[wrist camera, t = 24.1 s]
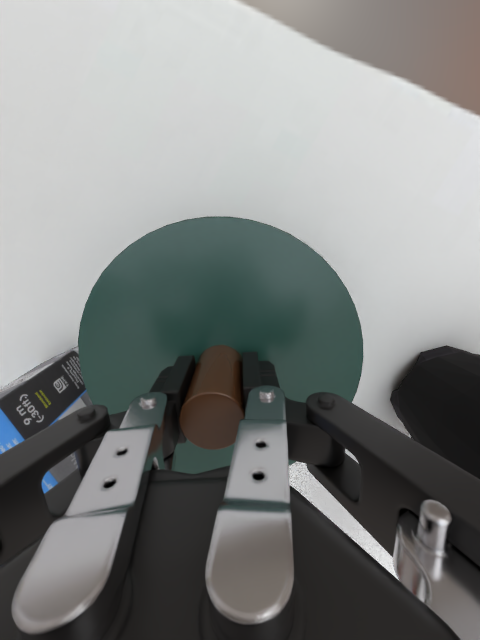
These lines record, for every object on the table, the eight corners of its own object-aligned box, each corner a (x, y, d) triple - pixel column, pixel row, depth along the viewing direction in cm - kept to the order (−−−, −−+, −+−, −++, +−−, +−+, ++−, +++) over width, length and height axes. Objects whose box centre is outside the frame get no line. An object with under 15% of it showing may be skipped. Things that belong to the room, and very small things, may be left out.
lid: (115, 472, 18) (60, 576, 12) (60, 228, 14) (-57, 222, 8) (349, 460, 18) (399, 561, 12) (362, 207, 14) (444, 188, 8)
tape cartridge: (136, 431, 25) (44, 605, 13) (97, 447, 26) (-26, 629, 14) (80, 344, 23) (-91, 459, 11) (39, 362, 23) (-168, 492, 11)
